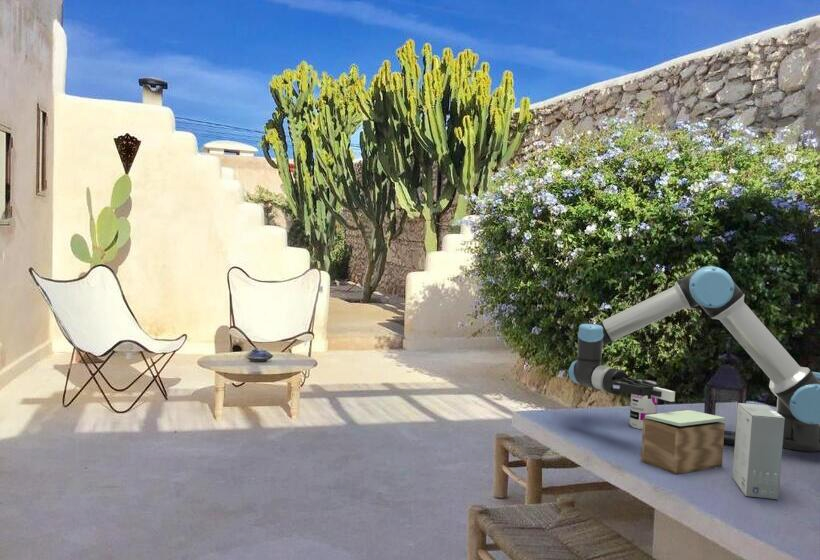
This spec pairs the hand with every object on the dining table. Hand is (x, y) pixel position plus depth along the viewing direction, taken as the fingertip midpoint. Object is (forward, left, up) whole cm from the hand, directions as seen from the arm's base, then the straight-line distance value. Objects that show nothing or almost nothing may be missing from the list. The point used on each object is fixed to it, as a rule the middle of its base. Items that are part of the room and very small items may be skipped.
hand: (672, 396), depth 206 cm
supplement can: (-4, -38, -18) cm, 42 cm away
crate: (-3, +2, -18) cm, 18 cm away
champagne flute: (-53, -49, -18) cm, 74 cm away
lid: (-3, +3, -6) cm, 7 cm away
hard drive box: (-15, +20, -18) cm, 31 cm away
